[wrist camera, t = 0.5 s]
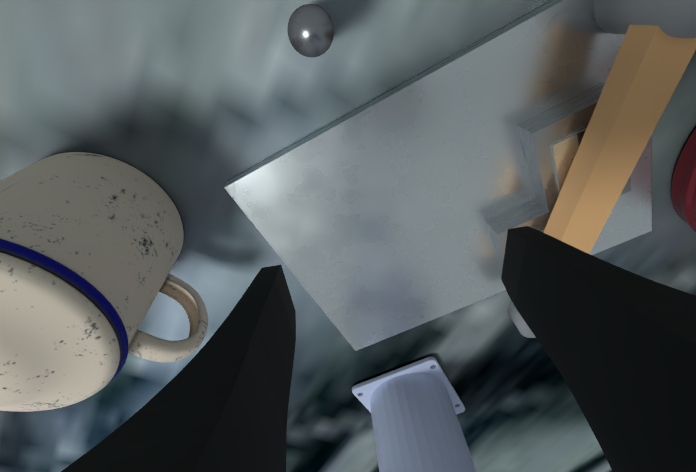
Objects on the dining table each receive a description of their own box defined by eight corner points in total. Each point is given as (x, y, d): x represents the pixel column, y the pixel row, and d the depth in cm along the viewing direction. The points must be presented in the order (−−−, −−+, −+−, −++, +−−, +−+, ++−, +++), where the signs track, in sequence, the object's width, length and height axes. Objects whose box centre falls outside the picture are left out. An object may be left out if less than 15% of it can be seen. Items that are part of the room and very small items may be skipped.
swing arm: (614, -60, 14) (699, -82, 11) (685, -54, 14) (788, -73, 11) (486, 301, 25) (510, 342, 21) (528, 300, 25) (559, 340, 22)
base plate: (639, 223, 24) (701, 262, 20) (354, 340, 28) (360, 392, 24) (626, -198, 13) (757, -288, 9) (163, 98, 17) (120, 122, 13)
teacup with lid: (0, 235, 20) (-293, 440, 10) (43, 108, 17) (-334, 237, 7) (194, 316, 25) (116, 510, 15) (259, 229, 21) (213, 409, 12)
